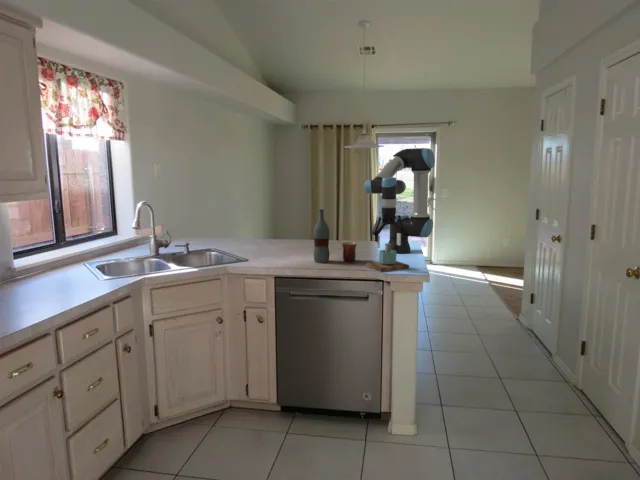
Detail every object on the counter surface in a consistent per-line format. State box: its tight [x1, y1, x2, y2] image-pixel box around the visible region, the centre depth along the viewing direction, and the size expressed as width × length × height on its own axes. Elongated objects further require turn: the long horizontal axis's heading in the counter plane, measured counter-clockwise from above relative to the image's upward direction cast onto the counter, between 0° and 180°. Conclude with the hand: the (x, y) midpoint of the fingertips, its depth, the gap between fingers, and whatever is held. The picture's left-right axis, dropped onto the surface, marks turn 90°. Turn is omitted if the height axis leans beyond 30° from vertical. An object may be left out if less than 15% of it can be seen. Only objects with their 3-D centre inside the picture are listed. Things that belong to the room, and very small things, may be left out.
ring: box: [378, 249, 397, 264], centre depth 244 cm, size 8×8×6 cm
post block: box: [366, 242, 410, 273], centre depth 243 cm, size 18×14×13 cm
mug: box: [341, 241, 358, 263], centre depth 259 cm, size 12×9×10 cm
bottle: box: [313, 208, 330, 264], centre depth 258 cm, size 9×9×30 cm
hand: (388, 246), depth 243 cm, fingers open, 13 cm apart
